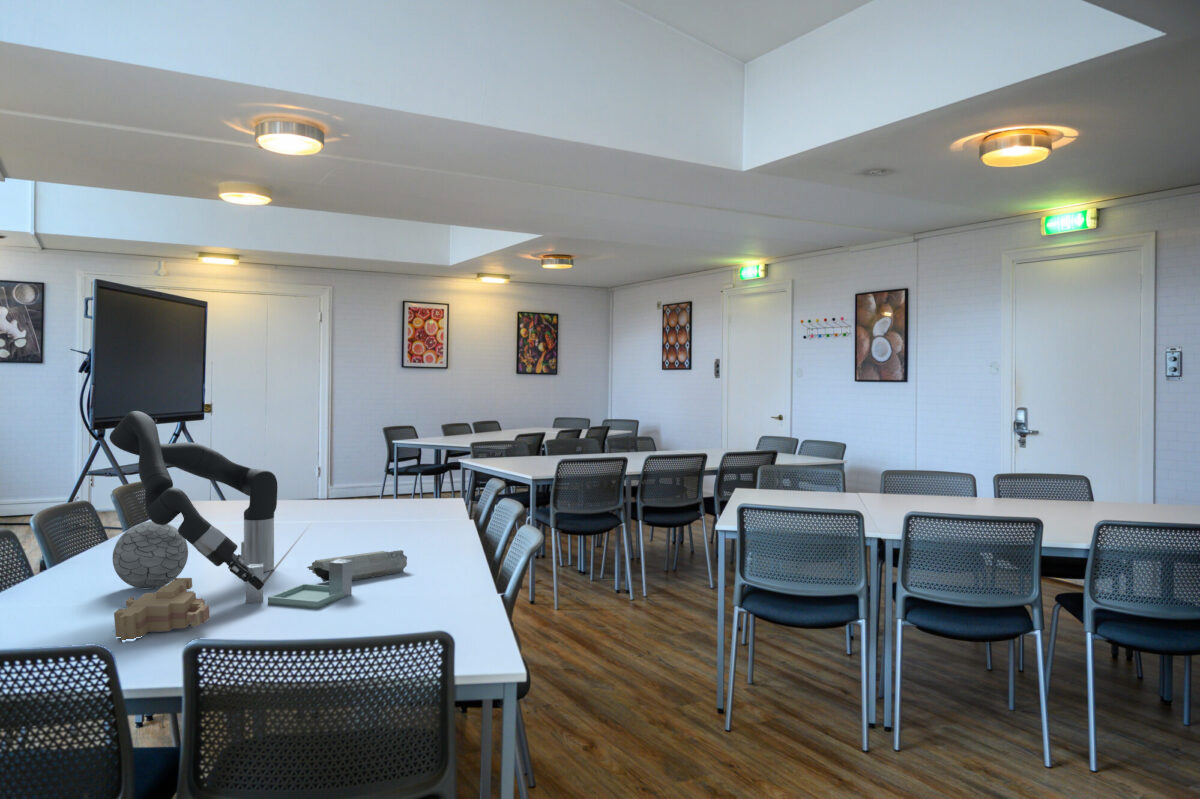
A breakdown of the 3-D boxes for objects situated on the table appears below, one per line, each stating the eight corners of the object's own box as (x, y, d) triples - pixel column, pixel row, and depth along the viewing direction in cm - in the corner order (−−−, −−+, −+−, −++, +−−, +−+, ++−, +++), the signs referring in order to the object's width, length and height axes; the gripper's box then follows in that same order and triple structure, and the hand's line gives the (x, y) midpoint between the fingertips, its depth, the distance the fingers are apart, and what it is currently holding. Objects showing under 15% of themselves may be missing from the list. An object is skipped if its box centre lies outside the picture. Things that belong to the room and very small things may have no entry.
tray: (267, 604, 223) (267, 597, 223) (303, 590, 238) (303, 583, 238) (317, 608, 219) (317, 601, 218) (350, 594, 234) (350, 587, 234)
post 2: (328, 596, 231) (329, 562, 231) (338, 592, 235) (338, 559, 235) (342, 598, 230) (342, 563, 230) (351, 594, 234) (351, 560, 234)
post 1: (245, 603, 223) (245, 568, 223) (246, 599, 228) (246, 564, 227) (262, 602, 225) (263, 566, 225) (263, 598, 229) (263, 563, 229)
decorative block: (407, 573, 262) (407, 550, 262) (318, 588, 241) (319, 563, 241) (394, 569, 267) (395, 546, 267) (307, 583, 246) (307, 559, 246)
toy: (146, 578, 207) (104, 610, 188) (224, 577, 208) (190, 610, 189) (149, 613, 209) (107, 649, 189) (226, 613, 210) (192, 648, 190)
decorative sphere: (96, 592, 234) (96, 524, 233) (155, 577, 252) (155, 514, 252) (146, 599, 227) (146, 529, 226) (203, 583, 245) (203, 518, 245)
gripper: (206, 550, 228) (252, 589, 233) (201, 561, 215) (250, 601, 219) (227, 531, 230) (272, 569, 235) (223, 540, 217) (271, 580, 221)
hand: (261, 585), depth 227 cm, fingers closed on post 1, 4 cm apart
